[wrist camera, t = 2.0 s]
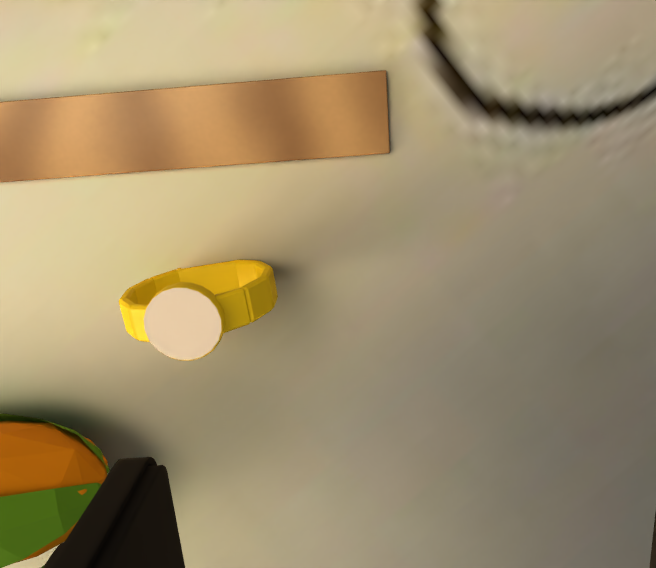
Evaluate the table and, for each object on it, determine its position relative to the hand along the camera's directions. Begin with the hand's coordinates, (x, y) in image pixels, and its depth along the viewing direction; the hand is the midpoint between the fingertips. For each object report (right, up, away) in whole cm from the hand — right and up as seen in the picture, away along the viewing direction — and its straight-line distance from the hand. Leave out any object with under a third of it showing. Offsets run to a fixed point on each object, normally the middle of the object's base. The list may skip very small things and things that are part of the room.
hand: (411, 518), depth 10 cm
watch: (-6, +4, +16) cm, 18 cm away
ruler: (-14, +10, +14) cm, 22 cm away
